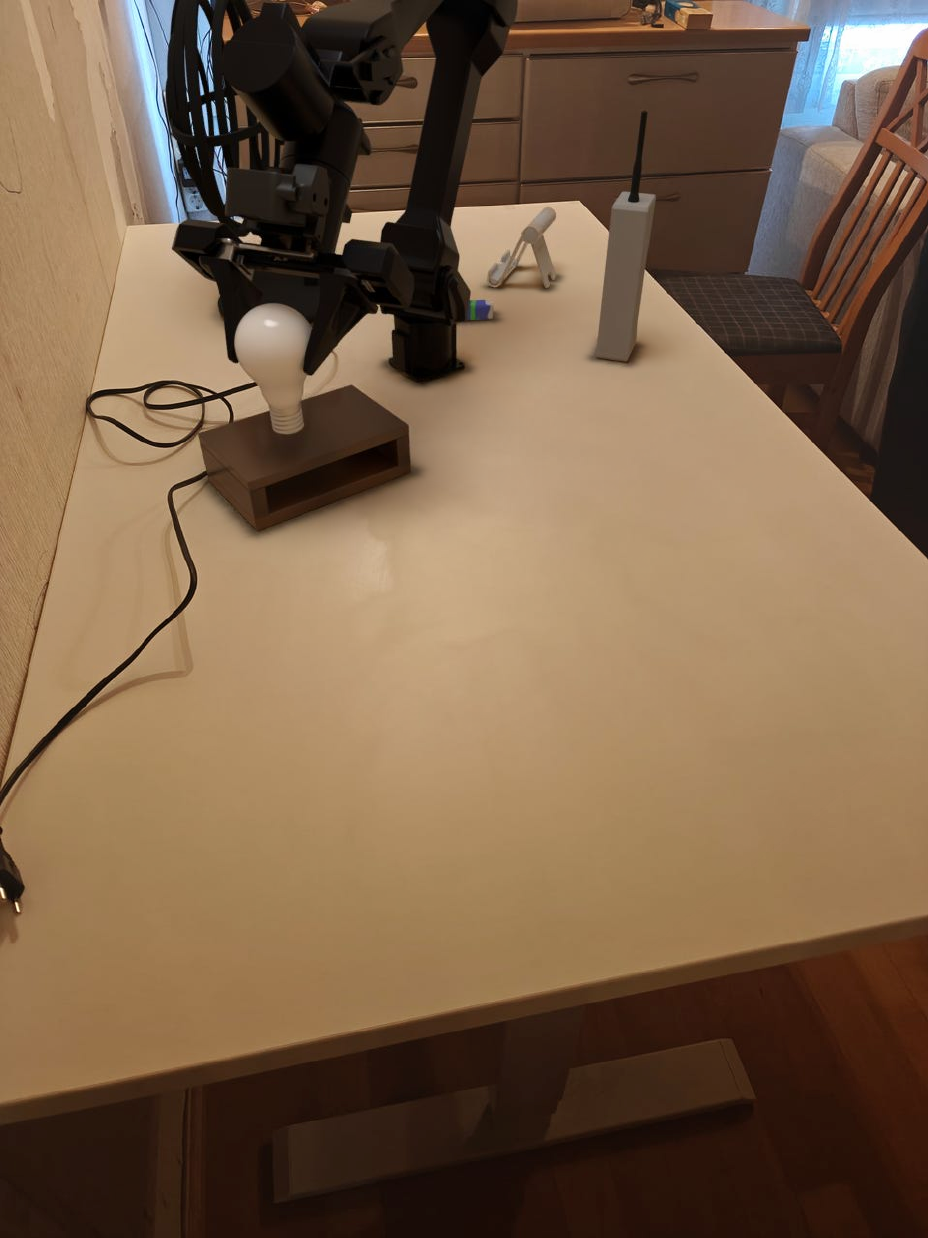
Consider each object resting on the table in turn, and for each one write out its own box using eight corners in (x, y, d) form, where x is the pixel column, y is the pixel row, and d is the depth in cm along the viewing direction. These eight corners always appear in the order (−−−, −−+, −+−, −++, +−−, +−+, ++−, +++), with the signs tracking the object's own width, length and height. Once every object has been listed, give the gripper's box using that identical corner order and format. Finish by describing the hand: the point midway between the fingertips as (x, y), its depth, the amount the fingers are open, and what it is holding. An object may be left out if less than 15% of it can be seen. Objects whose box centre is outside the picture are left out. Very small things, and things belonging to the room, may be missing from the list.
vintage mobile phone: (635, 345, 103) (668, 104, 86) (627, 363, 99) (660, 115, 83) (604, 341, 104) (631, 102, 87) (595, 358, 100) (621, 112, 84)
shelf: (355, 429, 88) (351, 383, 85) (411, 472, 82) (409, 424, 79) (208, 480, 81) (197, 432, 77) (257, 531, 75) (247, 482, 71)
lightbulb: (293, 460, 71) (273, 330, 64) (235, 438, 73) (209, 311, 66) (341, 426, 75) (328, 300, 67) (285, 407, 77) (266, 284, 70)
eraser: (493, 320, 108) (494, 304, 107) (446, 322, 108) (445, 306, 106) (491, 313, 110) (491, 297, 109) (443, 316, 109) (443, 300, 108)
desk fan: (233, 260, 124) (180, -48, 101) (356, 261, 124) (331, -48, 101) (187, 341, 104) (107, -23, 80) (334, 341, 104) (297, -22, 80)
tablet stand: (506, 265, 123) (508, 202, 117) (560, 272, 121) (565, 208, 115) (486, 286, 117) (488, 221, 111) (543, 294, 115) (547, 228, 109)
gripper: (155, 103, 63) (105, 309, 63) (391, 123, 59) (338, 345, 59) (230, 187, 74) (188, 364, 74) (435, 209, 70) (390, 398, 69)
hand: (269, 367), depth 69 cm, fingers closed on lightbulb, 6 cm apart
